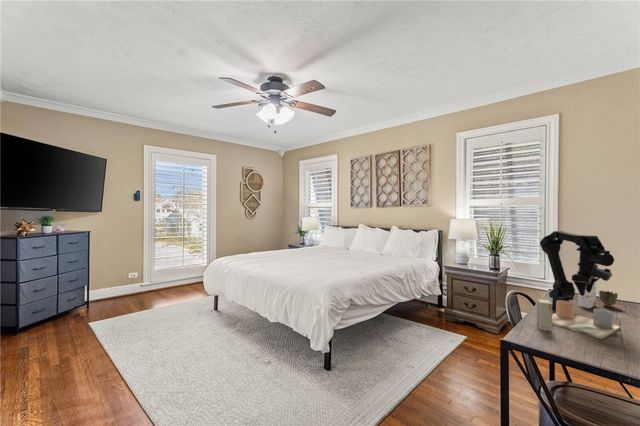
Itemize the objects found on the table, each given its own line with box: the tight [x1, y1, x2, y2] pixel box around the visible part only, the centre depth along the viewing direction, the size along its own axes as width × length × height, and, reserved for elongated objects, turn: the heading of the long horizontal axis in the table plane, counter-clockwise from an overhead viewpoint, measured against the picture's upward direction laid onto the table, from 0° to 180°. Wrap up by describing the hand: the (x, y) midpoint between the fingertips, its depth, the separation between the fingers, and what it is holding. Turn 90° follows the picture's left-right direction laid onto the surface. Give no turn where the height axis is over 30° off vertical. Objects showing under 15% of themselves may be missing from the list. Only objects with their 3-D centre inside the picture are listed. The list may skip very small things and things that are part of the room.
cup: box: [598, 290, 618, 308], centre depth 163 cm, size 8×7×8 cm
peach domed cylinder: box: [555, 300, 575, 319], centre depth 144 cm, size 6×6×7 cm
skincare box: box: [536, 298, 553, 332], centre depth 131 cm, size 6×4×12 cm
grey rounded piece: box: [592, 307, 614, 329], centre depth 132 cm, size 6×6×7 cm
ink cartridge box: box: [577, 281, 597, 309], centre depth 163 cm, size 9×5×15 cm, turn 117°
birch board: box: [552, 312, 621, 340], centre depth 136 cm, size 22×22×1 cm
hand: (585, 294), depth 140 cm, fingers open, 9 cm apart
